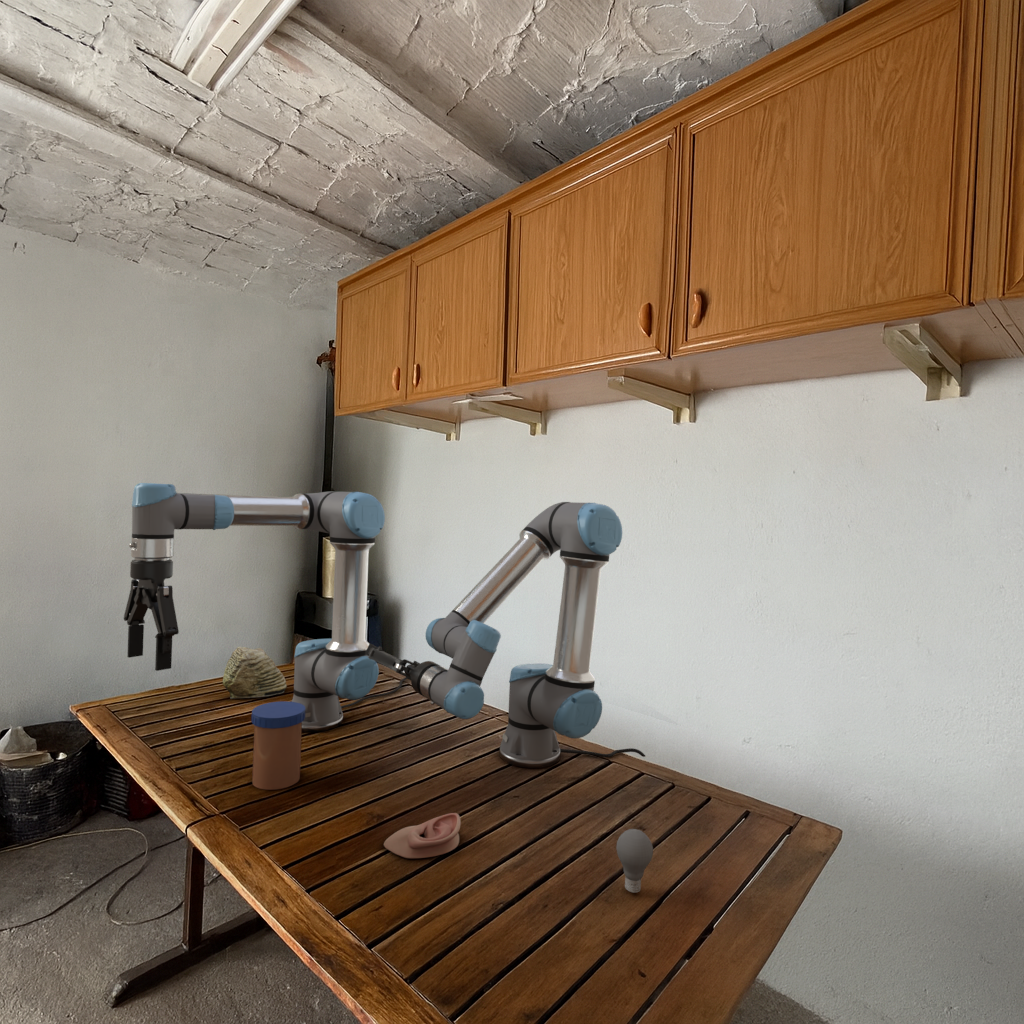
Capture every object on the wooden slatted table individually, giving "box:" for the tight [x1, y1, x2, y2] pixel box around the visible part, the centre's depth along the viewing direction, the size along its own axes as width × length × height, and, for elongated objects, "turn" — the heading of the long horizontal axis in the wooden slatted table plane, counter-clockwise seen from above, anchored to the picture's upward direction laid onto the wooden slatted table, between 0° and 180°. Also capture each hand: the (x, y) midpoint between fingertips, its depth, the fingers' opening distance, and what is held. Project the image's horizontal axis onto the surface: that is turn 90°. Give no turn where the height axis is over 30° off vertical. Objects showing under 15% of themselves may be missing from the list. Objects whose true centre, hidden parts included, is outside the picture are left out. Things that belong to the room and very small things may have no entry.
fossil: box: [222, 646, 288, 699], centre depth 198 cm, size 9×18×15 cm, turn 132°
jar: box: [251, 722, 303, 791], centre depth 141 cm, size 10×10×15 cm
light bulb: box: [615, 828, 654, 894], centre depth 106 cm, size 6×6×10 cm
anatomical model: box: [383, 812, 462, 859], centre depth 117 cm, size 13×4×12 cm
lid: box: [250, 700, 305, 728], centre depth 141 cm, size 11×11×2 cm
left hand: (148, 662), depth 129 cm, fingers open, 13 cm apart
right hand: (391, 657), depth 157 cm, fingers open, 13 cm apart
